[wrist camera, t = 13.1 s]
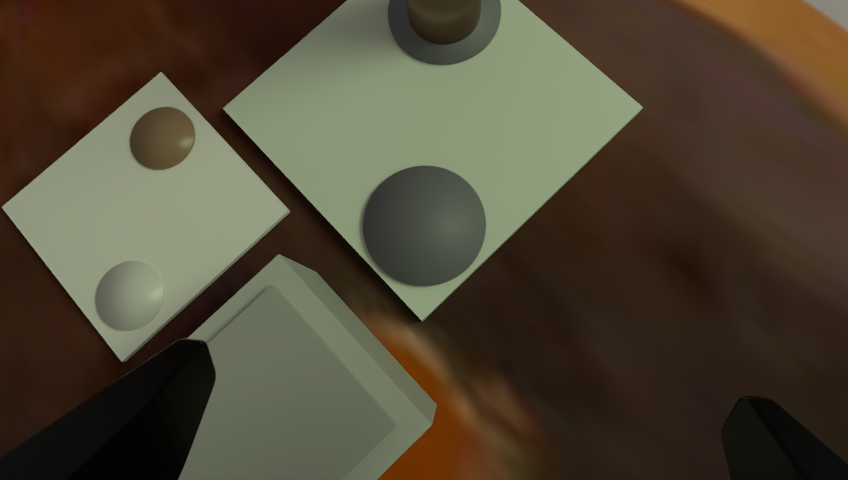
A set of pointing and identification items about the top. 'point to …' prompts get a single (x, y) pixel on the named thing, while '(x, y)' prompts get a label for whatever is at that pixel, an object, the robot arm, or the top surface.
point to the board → (430, 134)
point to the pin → (443, 19)
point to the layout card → (144, 215)
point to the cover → (301, 387)
